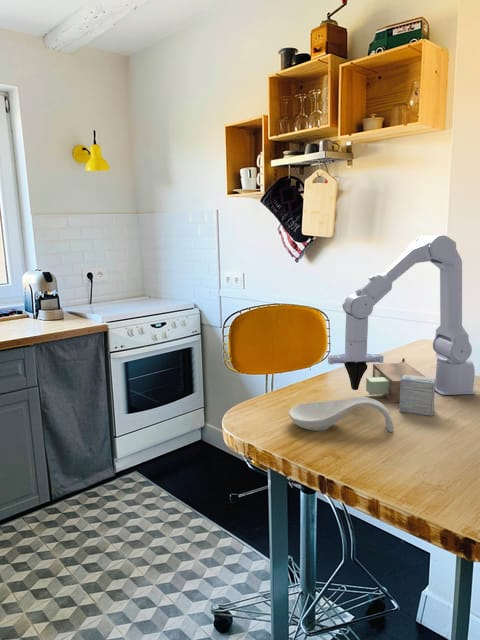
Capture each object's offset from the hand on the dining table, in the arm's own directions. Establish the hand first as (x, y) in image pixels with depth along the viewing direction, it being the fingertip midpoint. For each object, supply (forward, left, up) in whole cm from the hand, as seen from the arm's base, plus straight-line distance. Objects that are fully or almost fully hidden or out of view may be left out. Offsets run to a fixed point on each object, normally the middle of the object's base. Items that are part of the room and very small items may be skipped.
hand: (354, 388), depth 134 cm
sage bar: (-8, 0, -1) cm, 8 cm away
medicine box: (-13, +11, -3) cm, 17 cm away
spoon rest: (+9, +19, -3) cm, 21 cm away
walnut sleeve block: (-14, -3, -2) cm, 14 cm away
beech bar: (-13, -7, -1) cm, 15 cm away
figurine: (-20, -18, -3) cm, 27 cm away
